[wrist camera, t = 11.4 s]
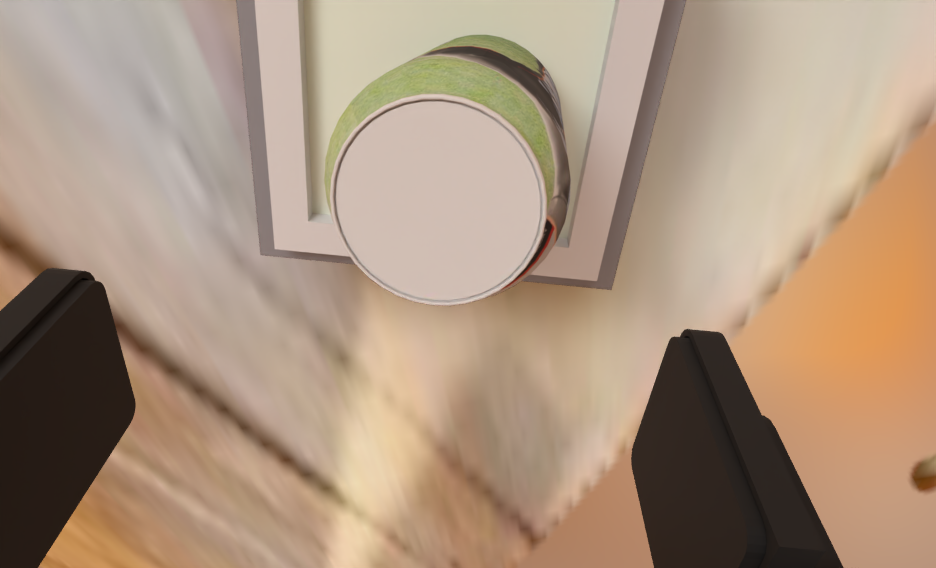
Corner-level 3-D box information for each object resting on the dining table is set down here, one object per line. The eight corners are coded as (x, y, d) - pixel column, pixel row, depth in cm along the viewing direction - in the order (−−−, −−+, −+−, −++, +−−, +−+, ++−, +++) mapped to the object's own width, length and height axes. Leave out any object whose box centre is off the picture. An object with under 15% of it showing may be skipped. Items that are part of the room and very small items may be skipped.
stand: (287, -168, 27) (207, -181, 20) (663, -126, 27) (727, -123, 20) (304, 182, 36) (253, 266, 28) (589, 211, 36) (614, 302, 29)
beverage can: (463, 209, 27) (442, 408, 17) (347, 63, 24) (238, 200, 14) (593, 125, 25) (657, 296, 15) (484, -47, 22) (471, 22, 12)
